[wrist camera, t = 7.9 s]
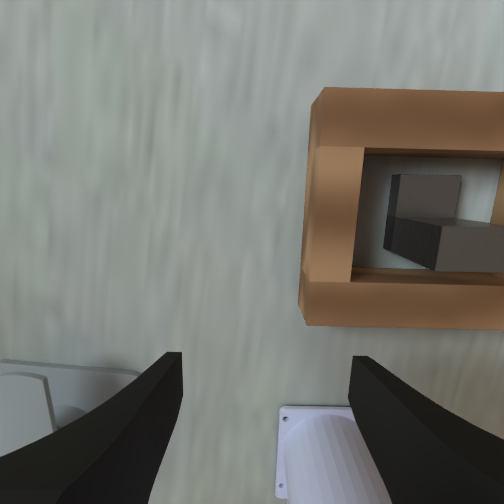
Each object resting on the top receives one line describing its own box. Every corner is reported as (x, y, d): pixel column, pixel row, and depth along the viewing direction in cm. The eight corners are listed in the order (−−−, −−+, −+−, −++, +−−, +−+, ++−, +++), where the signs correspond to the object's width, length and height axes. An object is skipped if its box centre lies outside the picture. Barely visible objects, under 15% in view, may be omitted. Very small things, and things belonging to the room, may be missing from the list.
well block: (504, 308, 22) (551, 330, 18) (298, 303, 22) (306, 325, 18) (551, 112, 19) (618, 95, 15) (311, 105, 18) (324, 87, 15)
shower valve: (117, 387, 17) (118, 561, 21) (149, 340, 23) (145, 485, 26) (-86, 369, 17) (-53, 549, 20) (-6, 326, 22) (10, 474, 26)
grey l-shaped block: (437, 248, 21) (509, 272, 15) (383, 247, 21) (434, 271, 15) (449, 176, 20) (533, 170, 14) (392, 175, 20) (452, 169, 14)
